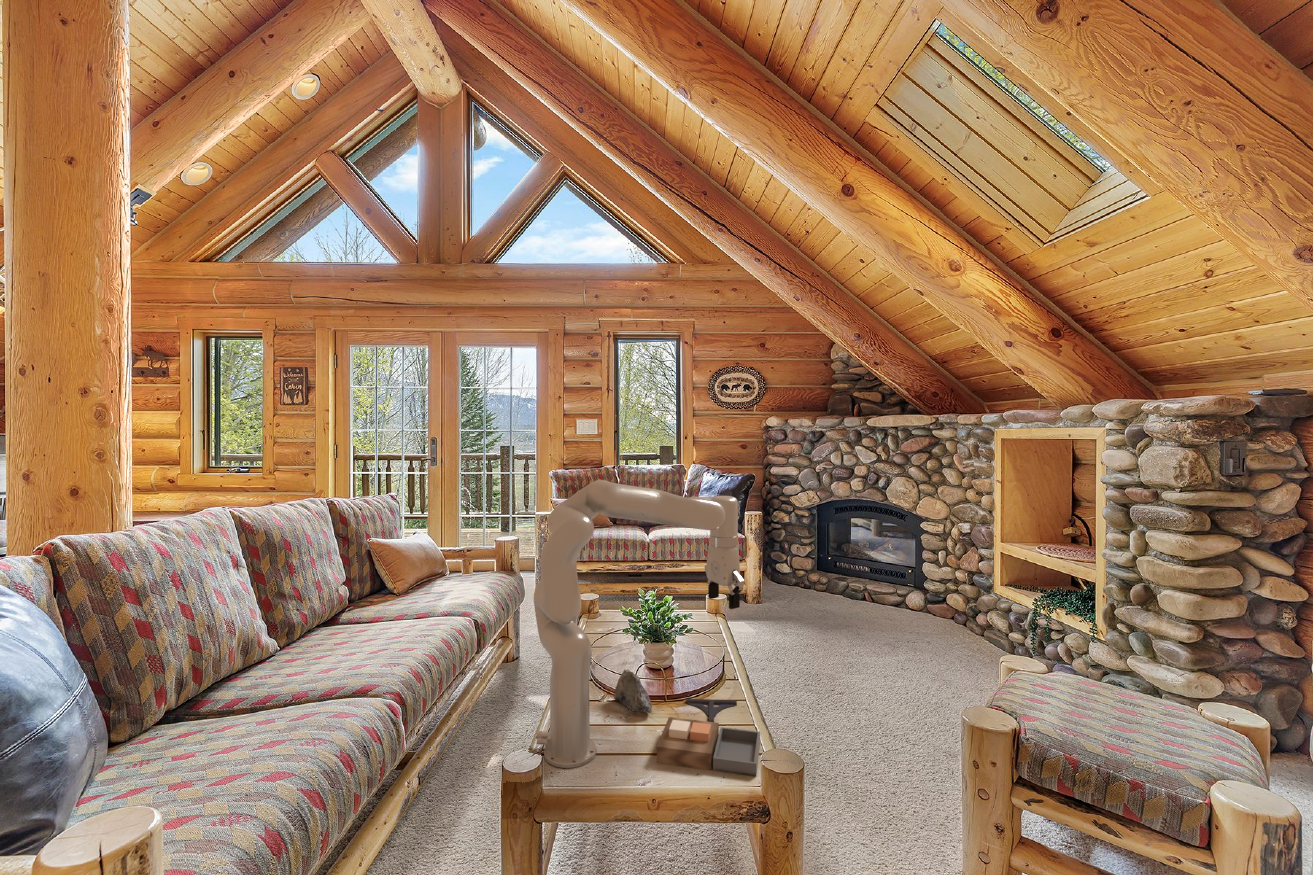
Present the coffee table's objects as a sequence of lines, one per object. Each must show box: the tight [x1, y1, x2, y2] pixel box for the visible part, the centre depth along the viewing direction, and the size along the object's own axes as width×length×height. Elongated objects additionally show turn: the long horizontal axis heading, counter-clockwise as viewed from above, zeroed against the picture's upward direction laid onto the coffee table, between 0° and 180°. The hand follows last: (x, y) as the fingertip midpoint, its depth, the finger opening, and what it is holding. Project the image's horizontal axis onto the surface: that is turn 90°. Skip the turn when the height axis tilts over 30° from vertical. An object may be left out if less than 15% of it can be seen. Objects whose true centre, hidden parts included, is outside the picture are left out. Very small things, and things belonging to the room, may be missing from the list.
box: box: [712, 726, 761, 777], centre depth 148 cm, size 10×14×3 cm
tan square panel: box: [656, 716, 720, 771], centre depth 150 cm, size 13×14×4 cm
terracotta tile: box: [690, 722, 711, 742], centre depth 149 cm, size 4×4×2 cm
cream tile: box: [669, 720, 690, 739], centre depth 151 cm, size 4×4×2 cm
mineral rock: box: [613, 669, 653, 714], centre depth 171 cm, size 13×11×10 cm
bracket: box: [685, 698, 738, 722], centre depth 167 cm, size 14×15×3 cm
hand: (723, 602), depth 167 cm, fingers open, 9 cm apart
